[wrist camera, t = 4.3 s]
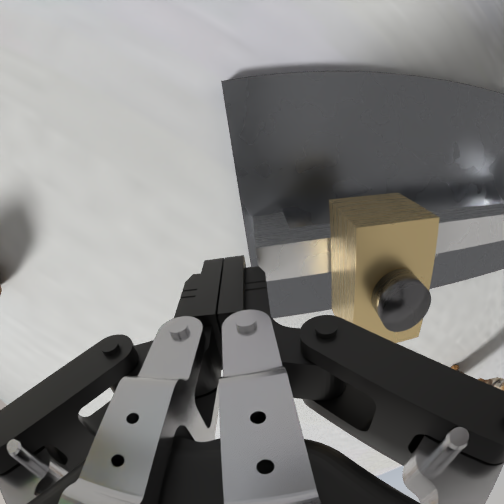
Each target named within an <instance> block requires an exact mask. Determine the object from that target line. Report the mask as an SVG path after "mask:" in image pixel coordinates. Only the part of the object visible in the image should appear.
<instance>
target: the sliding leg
mask: <svg viewBox="0 0 504 504" xmlns="http://www.w3.org/2000/svg"><path fill="white" fill-rule="evenodd" d="M329 211H330V233H331V272H332V307H331V308H332V310H333V313H334V315H335V316H337V317H340V318H343V319H345V320H347V321H349V322H351V323H353V324H355V325H357V326H360V327H362V328H364V329H366V330H368V331H370V332H373V333H375V334H377V335H379V336H381V337H383V338H386V339H388V340H390V341H392V342H394V343H398V342H402V341H405V340H409V339H412V338H416V337H418V336H419V332H420V328H421V324H422V320H423V317H424V316H425V315H426V313H427V311H428V309H429V307H430V303H431V295H430V292H429V288H430V283H431V278H432V272H433V266H434V260H435V253H436V245H437V237H438V228H439V217H438V216H436V215H435V214H433V213H432V212H430V211H428V210H427V209H425V208H424V207H422V206H420V205H419V204H417V203H415V202H413V201H412V200H410V199H408V198H407V197H405V196H403V195H401V194H400V193H389V194H378V195H367V196H357V197H348V198H339V199H330V200H329Z"/></svg>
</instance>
